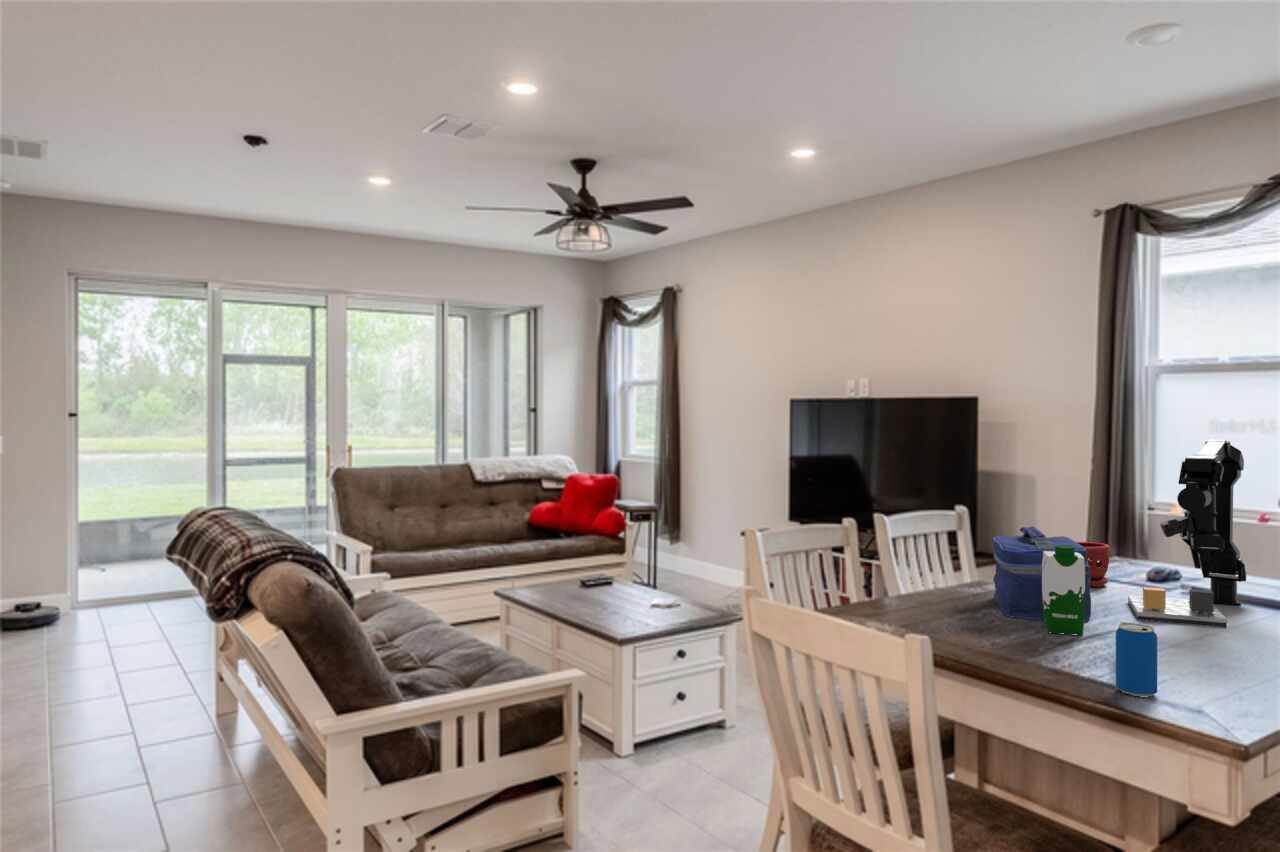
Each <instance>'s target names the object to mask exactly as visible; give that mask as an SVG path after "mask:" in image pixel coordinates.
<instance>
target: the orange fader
mask: <svg viewBox="0 0 1280 852" xmlns="http://www.w3.org/2000/svg"><path fill="white" fill-rule="evenodd" d="M1142 596H1143V606H1144V608H1151V611H1157V609H1164V610H1166V598H1167V597H1166V589H1165V588H1161V587H1146V586H1143V587H1142Z"/></svg>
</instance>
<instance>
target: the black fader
mask: <svg viewBox="0 0 1280 852" xmlns="http://www.w3.org/2000/svg"><path fill="white" fill-rule="evenodd" d="M1189 599H1190V609H1191V610H1192V611H1198V613H1199V614H1201V615H1204V612H1214V606H1215V605H1214V604H1215V603H1214V593H1213V592H1212V591H1211V590H1205V589H1204V590H1203V589H1189Z"/></svg>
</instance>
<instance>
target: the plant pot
mask: <svg viewBox="0 0 1280 852" xmlns="http://www.w3.org/2000/svg"><path fill="white" fill-rule="evenodd" d="M1076 542H1077V543H1078V544H1080V545H1081V546H1083V547H1084V548H1085V549H1086V552H1087V561H1088V564H1089V566H1090V578H1091V579H1090V588H1094V587H1095V588H1096V587H1103V586H1104V585H1106V584H1107V583H1108V581H1109V579H1108V578H1107V577H1106V574H1107V571H1108V569H1109V566H1110V565H1109V564H1110V546H1109V544H1106V543H1101V542H1092V541H1091V542H1089V541H1076Z"/></svg>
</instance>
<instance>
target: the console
mask: <svg viewBox="0 0 1280 852" xmlns="http://www.w3.org/2000/svg"><path fill="white" fill-rule="evenodd" d="M1127 603H1128V605H1129V606H1130V609H1131V610H1132V612H1133V613H1134V616H1135V617H1136V619H1137V621H1145V620H1148V621H1147V622H1157V621H1160V622H1159V623H1169V622H1172V624H1181V623H1184V624H1185V625H1193V624H1196V625H1197V626H1205V625H1209V627H1219V628H1220V627H1221V628H1227V627H1228V622H1227V621H1228V620H1227V619H1228V618H1226V616H1225V615H1224V614H1223V613H1222V612H1221V611H1220V610H1219V609H1218V608H1217V607H1216V606H1215V605H1214V612H1204V615H1201V614H1199V613H1198V611H1192V610H1191V609H1190V598H1176V597H1175V598H1173V597H1166V610H1164V609H1157V611H1151V608H1144V606H1143V595H1134V594H1128V595H1127Z"/></svg>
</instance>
